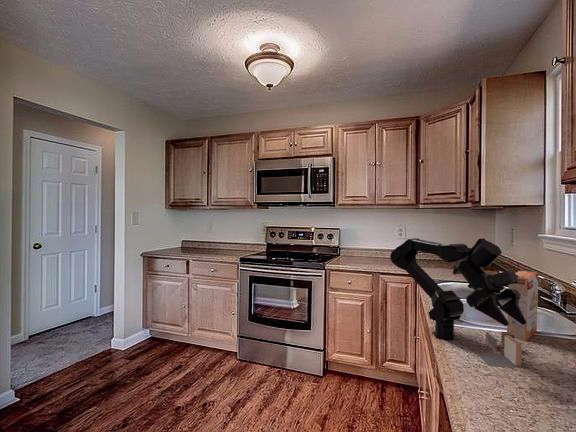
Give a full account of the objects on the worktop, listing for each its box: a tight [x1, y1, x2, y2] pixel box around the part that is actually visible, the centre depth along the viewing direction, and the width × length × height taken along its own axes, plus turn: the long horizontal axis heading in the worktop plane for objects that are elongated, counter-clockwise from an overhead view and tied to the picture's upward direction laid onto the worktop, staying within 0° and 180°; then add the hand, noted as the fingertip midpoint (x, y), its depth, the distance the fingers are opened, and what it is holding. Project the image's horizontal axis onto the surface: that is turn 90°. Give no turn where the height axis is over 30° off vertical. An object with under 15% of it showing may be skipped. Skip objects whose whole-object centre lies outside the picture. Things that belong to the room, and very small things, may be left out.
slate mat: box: [476, 352, 525, 369], centre depth 91 cm, size 8×9×1 cm
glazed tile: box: [503, 335, 522, 366], centre depth 90 cm, size 6×1×6 cm, turn 171°
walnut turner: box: [485, 331, 515, 352], centre depth 99 cm, size 6×6×5 cm
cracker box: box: [506, 270, 539, 342], centre depth 109 cm, size 14×6×21 cm, turn 131°
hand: (516, 324), depth 86 cm, fingers open, 9 cm apart
